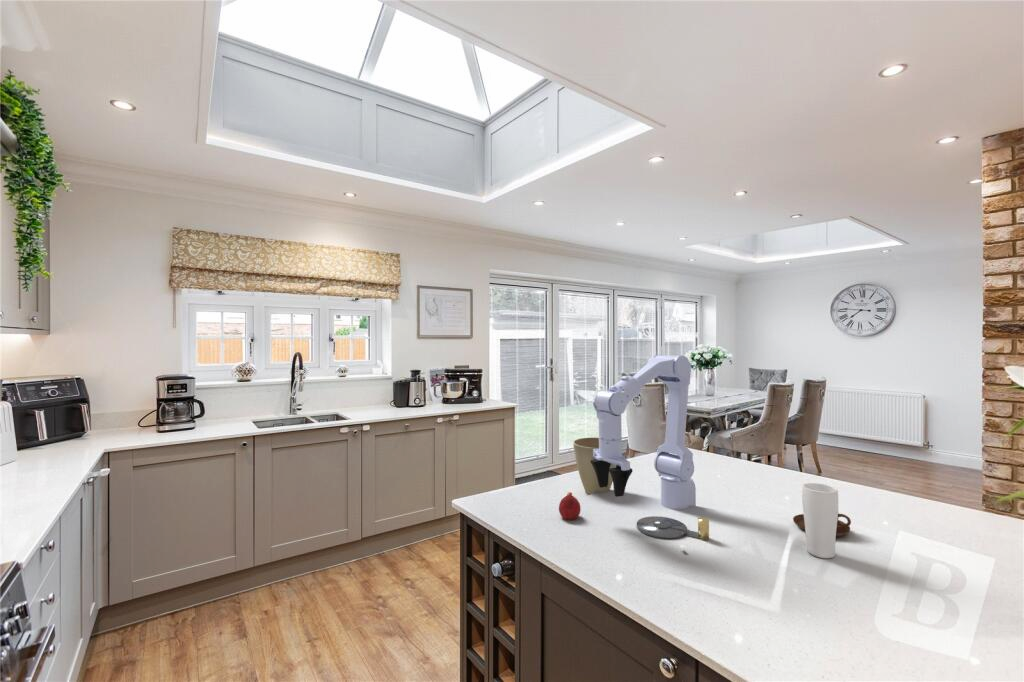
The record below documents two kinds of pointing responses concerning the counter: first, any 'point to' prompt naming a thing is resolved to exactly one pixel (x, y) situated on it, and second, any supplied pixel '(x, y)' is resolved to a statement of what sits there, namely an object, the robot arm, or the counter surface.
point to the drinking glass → (820, 518)
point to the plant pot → (589, 464)
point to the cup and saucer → (841, 526)
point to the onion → (569, 507)
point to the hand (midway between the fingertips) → (611, 491)
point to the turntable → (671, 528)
